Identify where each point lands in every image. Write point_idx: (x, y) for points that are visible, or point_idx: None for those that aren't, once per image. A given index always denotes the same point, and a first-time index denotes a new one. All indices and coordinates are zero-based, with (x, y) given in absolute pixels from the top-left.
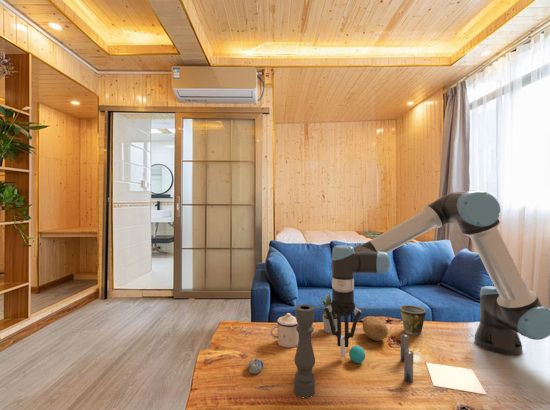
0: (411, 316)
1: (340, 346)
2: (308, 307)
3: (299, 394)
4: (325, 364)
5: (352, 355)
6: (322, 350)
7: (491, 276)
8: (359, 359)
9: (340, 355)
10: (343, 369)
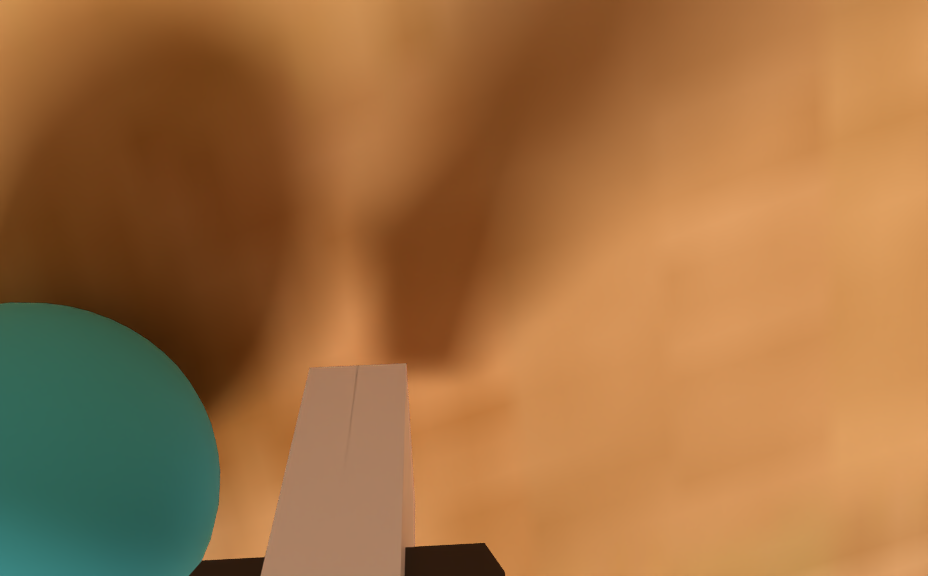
0: None
1: (401, 525)
2: None
3: None
4: (701, 89)
5: (75, 370)
6: (784, 562)
7: None
8: None
9: (405, 380)
10: (286, 18)
